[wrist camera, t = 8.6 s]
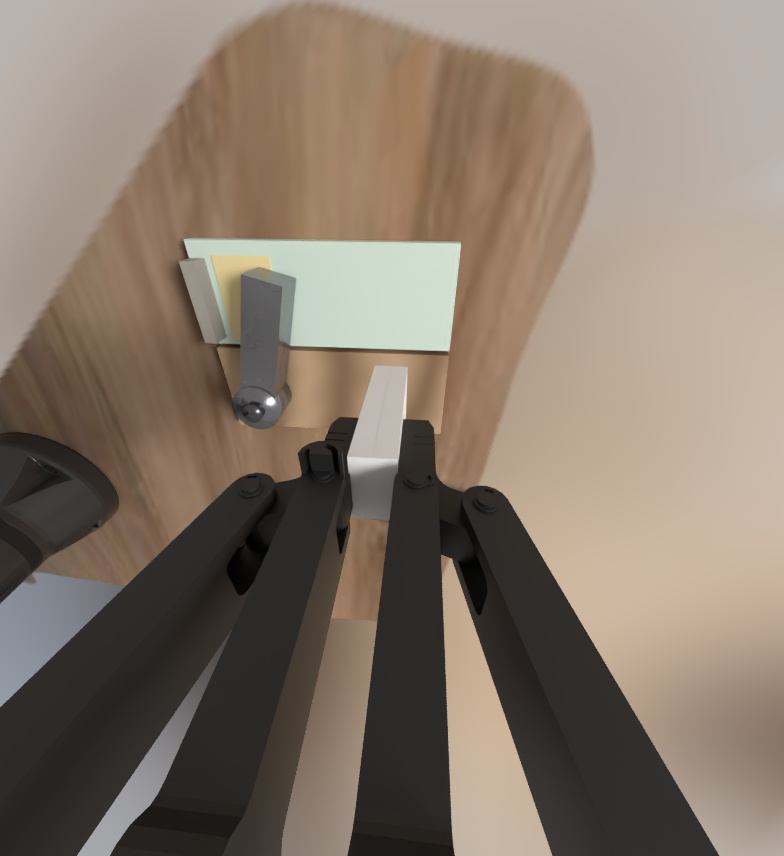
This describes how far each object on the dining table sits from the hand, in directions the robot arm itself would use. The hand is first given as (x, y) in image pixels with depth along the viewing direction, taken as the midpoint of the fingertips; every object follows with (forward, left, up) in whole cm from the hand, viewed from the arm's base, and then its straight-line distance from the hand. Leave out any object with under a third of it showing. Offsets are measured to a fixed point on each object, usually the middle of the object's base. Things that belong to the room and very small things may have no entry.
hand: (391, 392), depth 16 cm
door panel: (-6, +1, -14) cm, 15 cm away
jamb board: (-6, -7, -14) cm, 17 cm away
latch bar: (-11, -3, -12) cm, 17 cm away
